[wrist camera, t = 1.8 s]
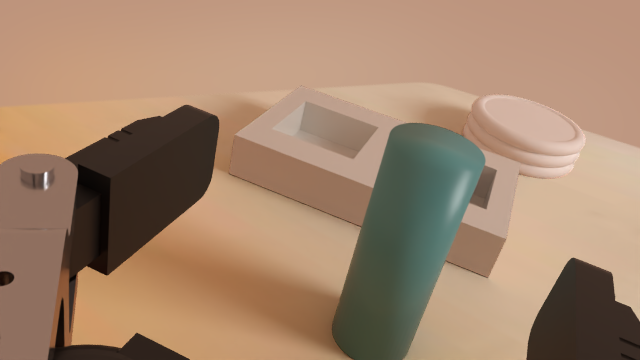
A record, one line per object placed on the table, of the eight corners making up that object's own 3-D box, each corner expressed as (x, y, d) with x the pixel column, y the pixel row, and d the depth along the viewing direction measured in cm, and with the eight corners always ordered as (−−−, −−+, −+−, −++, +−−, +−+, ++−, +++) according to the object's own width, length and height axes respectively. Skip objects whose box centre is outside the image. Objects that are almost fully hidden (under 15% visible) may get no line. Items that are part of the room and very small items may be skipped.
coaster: (536, 130, 57) (550, 98, 56) (592, 186, 49) (611, 150, 48) (445, 120, 55) (457, 86, 53) (488, 177, 47) (504, 139, 45)
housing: (505, 196, 44) (521, 160, 42) (488, 277, 35) (507, 236, 33) (294, 118, 48) (301, 83, 46) (228, 173, 39) (234, 131, 37)
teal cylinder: (417, 325, 30) (491, 144, 25) (397, 379, 27) (478, 185, 21) (347, 295, 31) (403, 113, 26) (320, 344, 28) (377, 148, 22)
